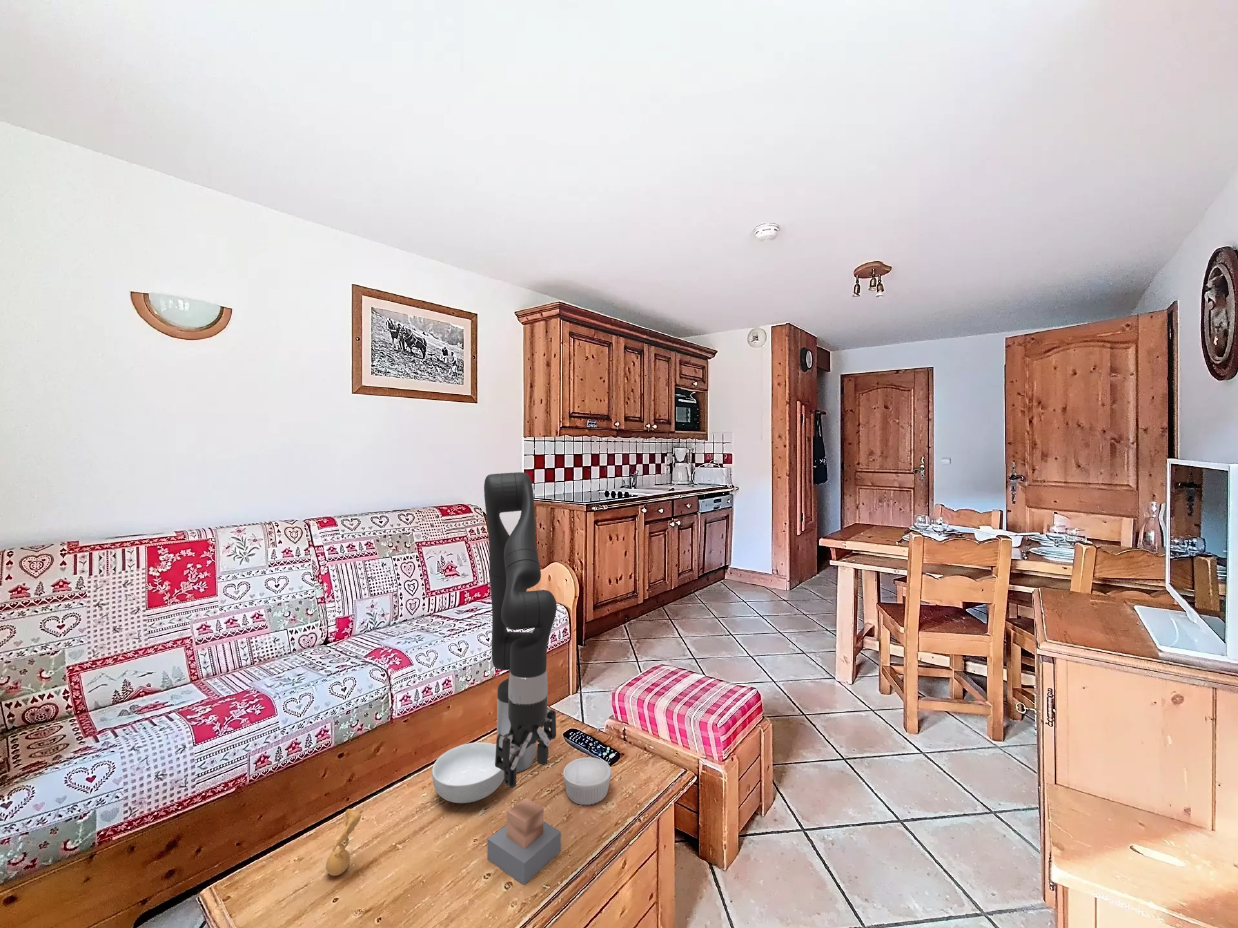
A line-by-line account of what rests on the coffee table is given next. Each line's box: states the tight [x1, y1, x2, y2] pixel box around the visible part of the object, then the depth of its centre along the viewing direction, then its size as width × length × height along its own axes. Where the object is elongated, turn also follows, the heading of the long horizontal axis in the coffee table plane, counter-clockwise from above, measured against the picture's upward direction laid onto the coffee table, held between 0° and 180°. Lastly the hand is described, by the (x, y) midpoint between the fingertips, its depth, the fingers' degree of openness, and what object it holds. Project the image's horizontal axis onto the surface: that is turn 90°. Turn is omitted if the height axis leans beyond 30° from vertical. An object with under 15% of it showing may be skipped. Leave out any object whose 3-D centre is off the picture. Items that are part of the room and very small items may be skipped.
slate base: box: [486, 820, 562, 886], centre depth 100 cm, size 10×10×4 cm
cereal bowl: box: [431, 741, 504, 804], centre depth 119 cm, size 17×17×7 cm
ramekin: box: [562, 756, 612, 806], centre depth 119 cm, size 11×11×5 cm
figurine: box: [325, 808, 363, 877], centre depth 95 cm, size 8×6×12 cm
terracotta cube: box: [506, 797, 544, 848], centre depth 100 cm, size 5×5×5 cm
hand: (526, 774), depth 100 cm, fingers open, 8 cm apart
